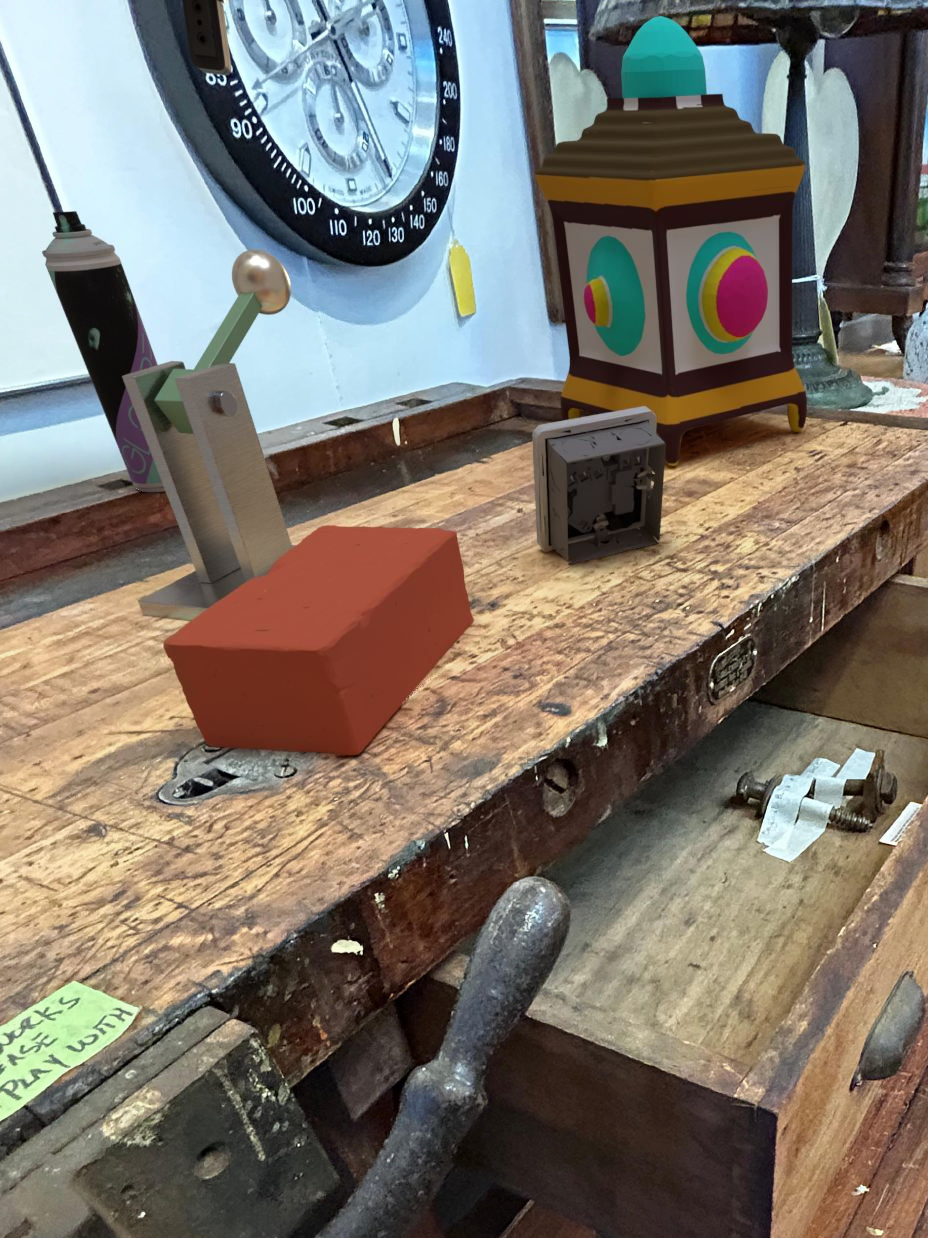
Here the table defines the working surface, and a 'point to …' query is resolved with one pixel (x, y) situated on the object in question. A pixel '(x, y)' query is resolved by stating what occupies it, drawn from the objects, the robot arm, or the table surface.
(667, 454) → the decorative lantern
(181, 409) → the switch lever
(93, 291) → the spray can
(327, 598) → the brick
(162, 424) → the switch bracket
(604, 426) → the electrical switch
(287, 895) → the table surface
